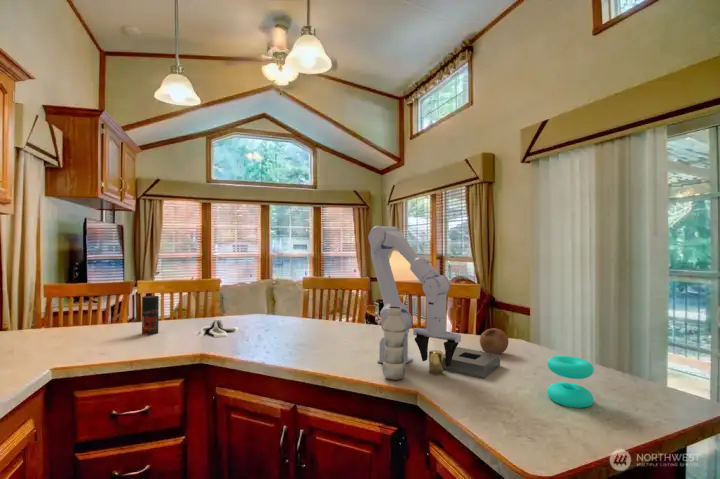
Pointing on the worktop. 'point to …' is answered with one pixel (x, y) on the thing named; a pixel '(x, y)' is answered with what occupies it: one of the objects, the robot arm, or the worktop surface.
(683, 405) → the worktop surface
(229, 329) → the cloth
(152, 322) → the deodorant
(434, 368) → the bushing
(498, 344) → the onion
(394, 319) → the plastic bottle
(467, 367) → the block
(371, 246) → the robot arm
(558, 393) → the donuts
